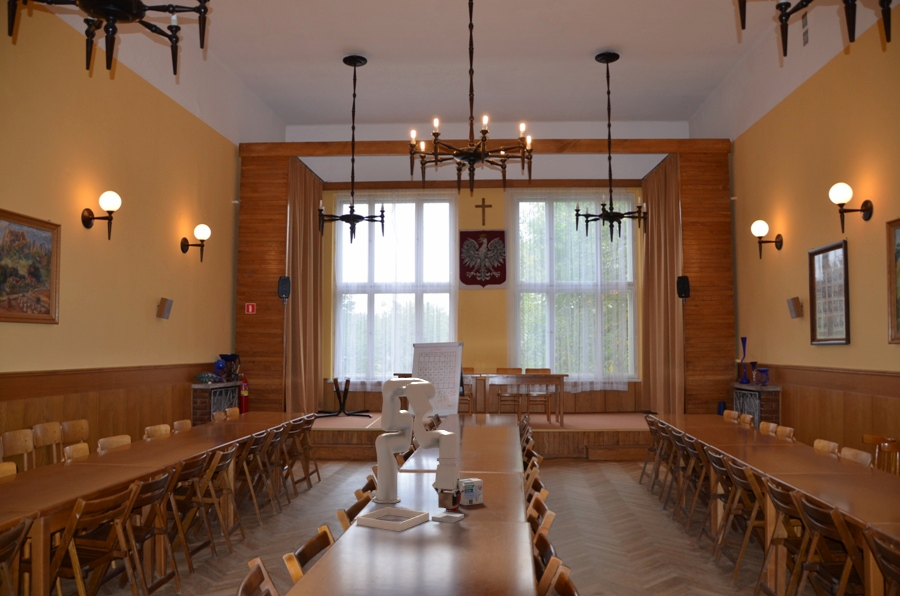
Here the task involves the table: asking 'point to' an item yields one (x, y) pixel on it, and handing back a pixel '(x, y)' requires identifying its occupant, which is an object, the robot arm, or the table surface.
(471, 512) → the table surface
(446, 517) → the display stand
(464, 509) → the table surface
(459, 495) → the plastic cup
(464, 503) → the light bulb box
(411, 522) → the beige square frame
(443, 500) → the walnut block
